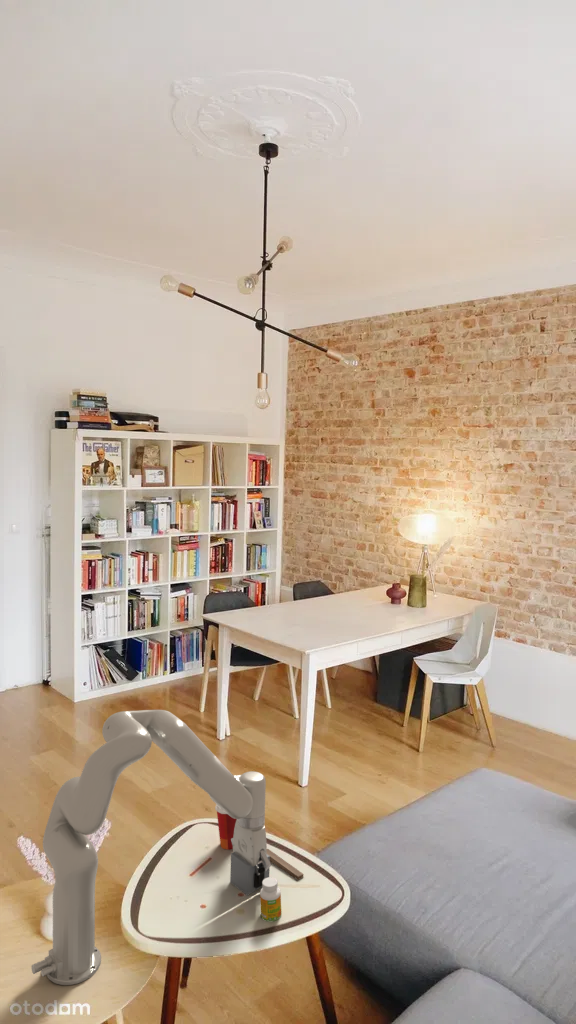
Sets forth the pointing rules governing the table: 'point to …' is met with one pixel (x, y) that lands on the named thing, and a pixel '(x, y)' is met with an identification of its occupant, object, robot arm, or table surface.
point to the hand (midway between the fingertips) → (249, 878)
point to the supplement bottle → (270, 900)
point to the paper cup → (225, 828)
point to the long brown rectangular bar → (284, 865)
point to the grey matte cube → (244, 874)
